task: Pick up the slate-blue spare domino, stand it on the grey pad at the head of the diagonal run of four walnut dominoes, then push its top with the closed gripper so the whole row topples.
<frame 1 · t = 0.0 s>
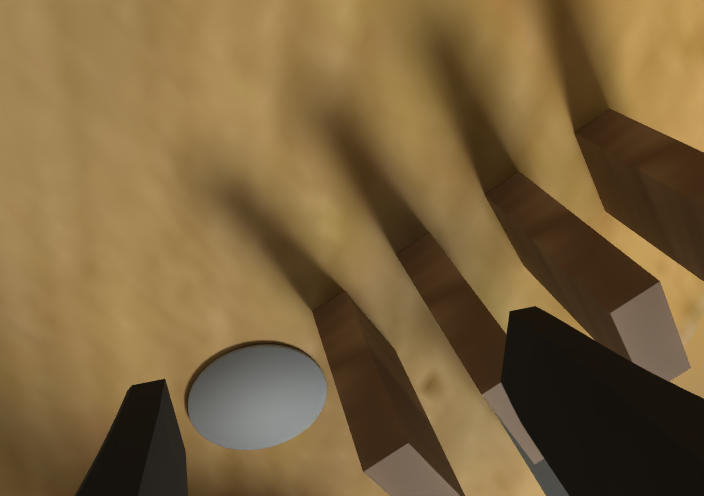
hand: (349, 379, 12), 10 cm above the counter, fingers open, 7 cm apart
domino 4: (521, 221, 24), on the counter
domino 2: (355, 332, 25), on the counter
domino 5: (607, 162, 23), on the counter
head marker: (259, 398, 25), on the counter
domino 3: (436, 277, 24), on the counter
domino head: (516, 414, 30), on the counter
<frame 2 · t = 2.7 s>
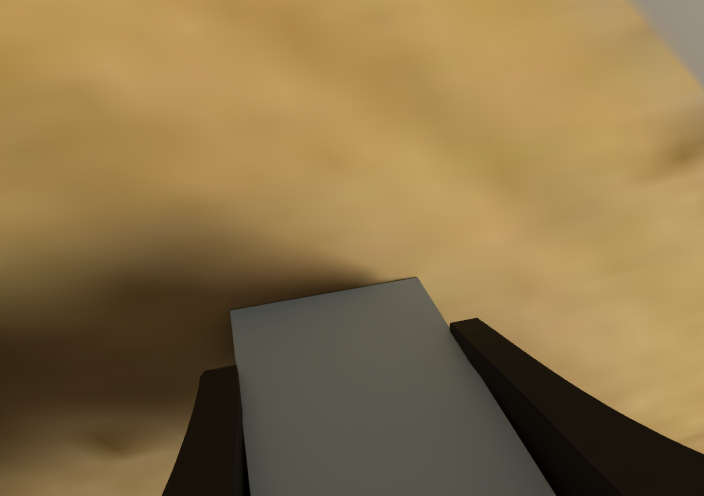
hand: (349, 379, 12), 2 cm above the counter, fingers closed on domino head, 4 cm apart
domino head: (328, 320, 13), on the counter, touching gripper
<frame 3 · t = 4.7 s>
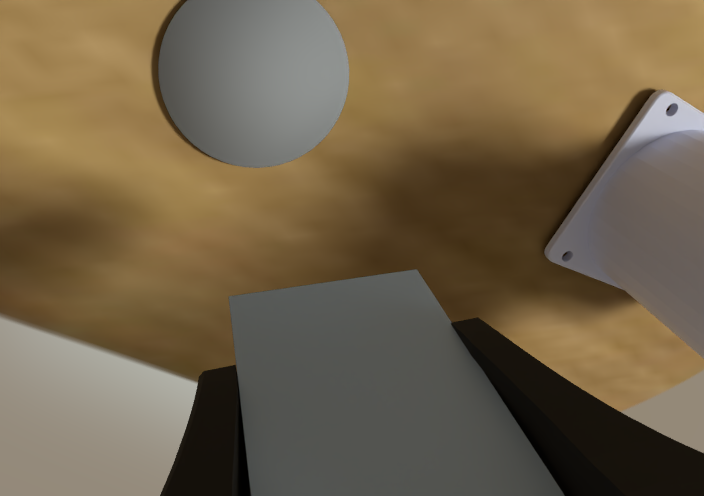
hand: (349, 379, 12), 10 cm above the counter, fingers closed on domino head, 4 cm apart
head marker: (257, 77, 18), on the counter
domino head: (327, 310, 13), point 8 cm above the counter, touching gripper
when the fingers open (3 cm above the counter, at t = 6.9 s): domino head stays where it is, resting on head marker.
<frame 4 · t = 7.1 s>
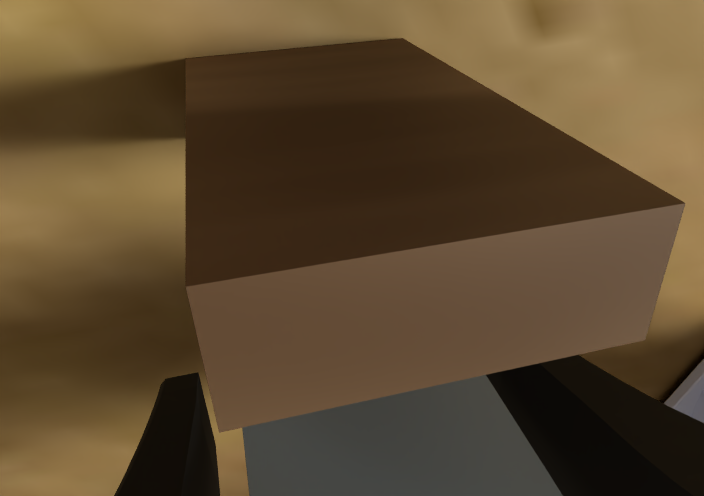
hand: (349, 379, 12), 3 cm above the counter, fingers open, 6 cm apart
domino 2: (301, 88, 12), on the counter
domino head: (320, 290, 14), resting on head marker
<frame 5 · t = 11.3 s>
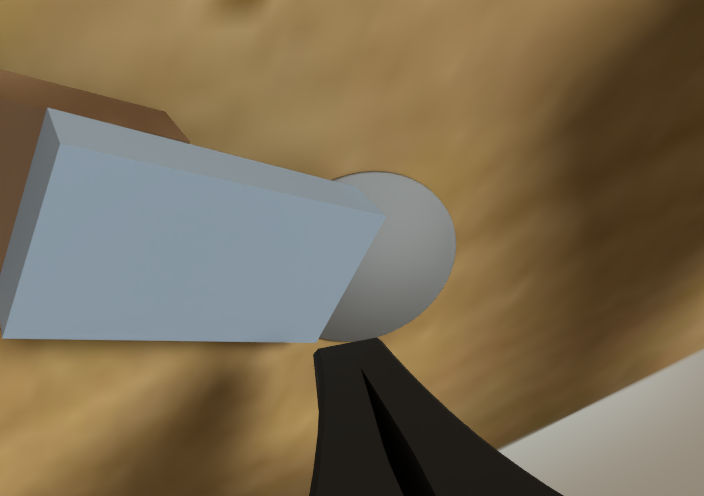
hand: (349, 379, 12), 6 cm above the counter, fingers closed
domino 2: (147, 204, 14), point 1 cm above the counter, tilted 68°, touching domino 3, domino head
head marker: (363, 261, 18), on the counter
domino head: (335, 266, 16), point 1 cm above the counter, tilted 72°, touching domino 2, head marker
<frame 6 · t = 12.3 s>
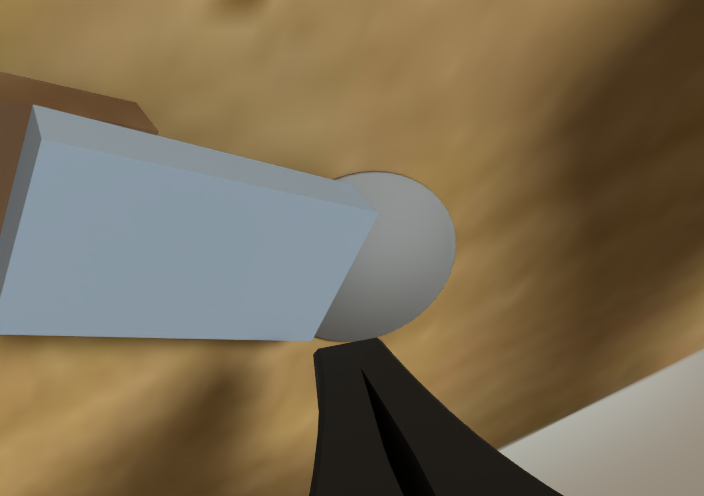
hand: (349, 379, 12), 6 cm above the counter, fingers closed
domino 2: (122, 198, 14), point 1 cm above the counter, tilted 68°, touching domino 3, domino head
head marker: (363, 261, 18), on the counter
domino head: (330, 263, 16), point 1 cm above the counter, tilted 74°, touching domino 2, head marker
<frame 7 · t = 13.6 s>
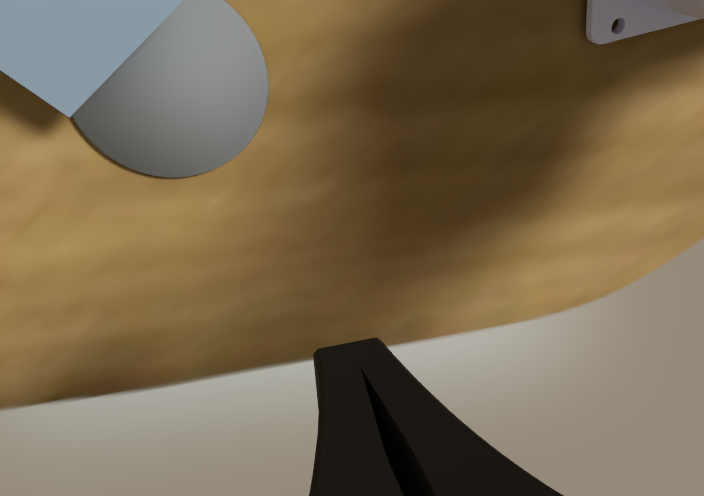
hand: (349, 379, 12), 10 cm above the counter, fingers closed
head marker: (169, 84, 17), on the counter
domino head: (121, 50, 16), point 1 cm above the counter, tilted 76°, touching domino 2, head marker
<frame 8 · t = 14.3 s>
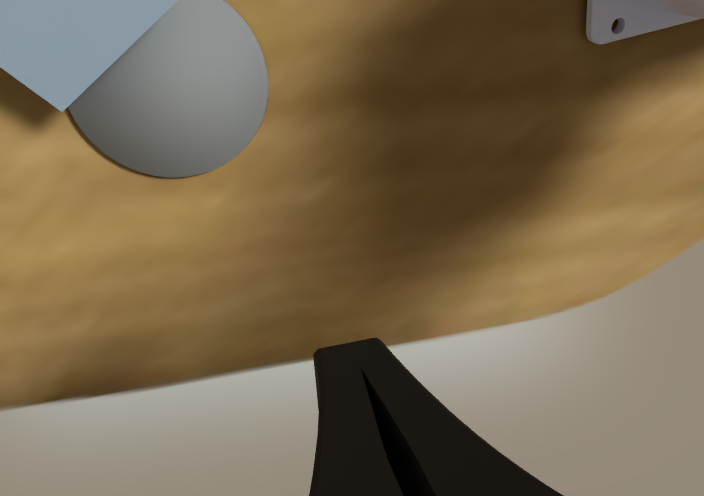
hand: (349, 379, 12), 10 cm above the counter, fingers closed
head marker: (169, 84, 17), on the counter
domino head: (116, 46, 16), point 1 cm above the counter, tilted 78°, touching domino 2, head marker
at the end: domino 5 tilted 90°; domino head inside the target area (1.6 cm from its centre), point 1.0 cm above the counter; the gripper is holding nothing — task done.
